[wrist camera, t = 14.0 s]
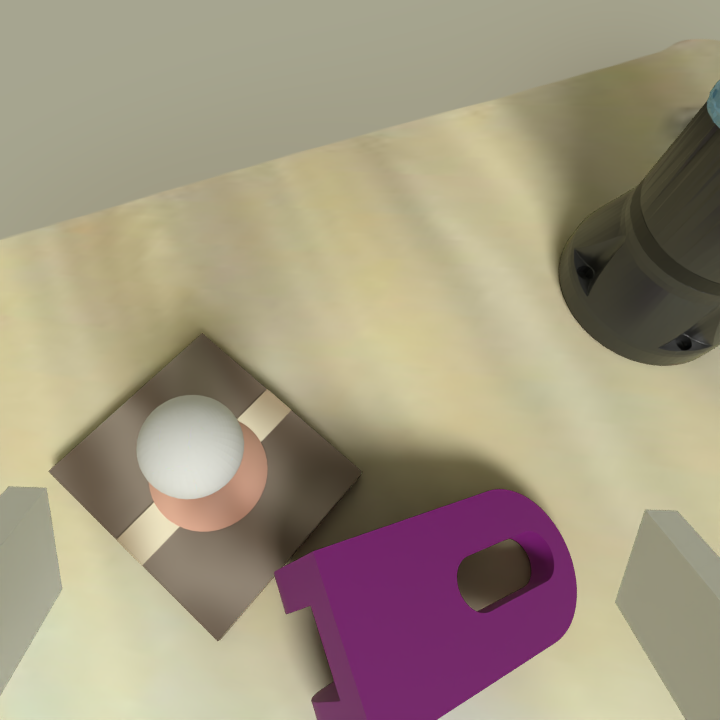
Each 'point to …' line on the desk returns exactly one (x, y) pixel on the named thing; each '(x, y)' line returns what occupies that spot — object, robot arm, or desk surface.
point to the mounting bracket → (429, 608)
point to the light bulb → (190, 447)
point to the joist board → (221, 509)
